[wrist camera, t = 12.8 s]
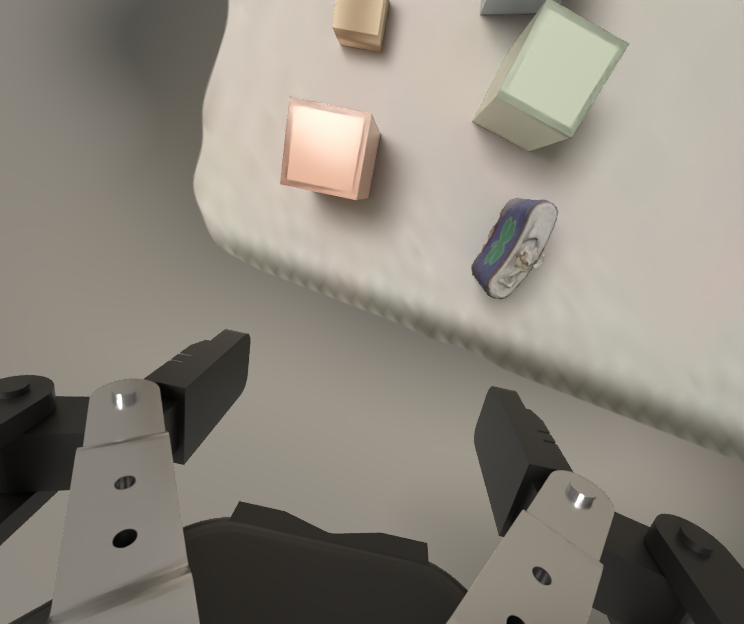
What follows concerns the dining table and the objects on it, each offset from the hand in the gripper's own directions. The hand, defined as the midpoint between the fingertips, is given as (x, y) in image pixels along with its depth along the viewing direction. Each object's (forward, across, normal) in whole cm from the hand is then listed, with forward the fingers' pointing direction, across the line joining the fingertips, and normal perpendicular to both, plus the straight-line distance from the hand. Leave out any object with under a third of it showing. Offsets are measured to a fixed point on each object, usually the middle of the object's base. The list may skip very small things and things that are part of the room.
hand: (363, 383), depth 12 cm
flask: (+30, -11, -3) cm, 32 cm away
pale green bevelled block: (+30, -9, -16) cm, 35 cm away
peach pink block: (+30, +7, -8) cm, 32 cm away
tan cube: (+30, +7, -20) cm, 37 cm away
